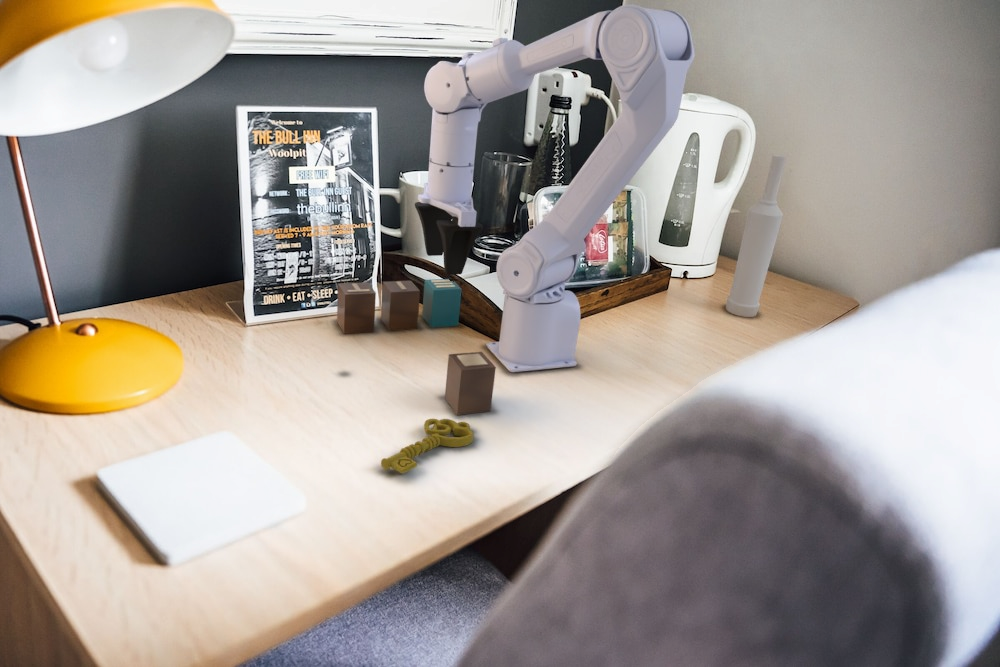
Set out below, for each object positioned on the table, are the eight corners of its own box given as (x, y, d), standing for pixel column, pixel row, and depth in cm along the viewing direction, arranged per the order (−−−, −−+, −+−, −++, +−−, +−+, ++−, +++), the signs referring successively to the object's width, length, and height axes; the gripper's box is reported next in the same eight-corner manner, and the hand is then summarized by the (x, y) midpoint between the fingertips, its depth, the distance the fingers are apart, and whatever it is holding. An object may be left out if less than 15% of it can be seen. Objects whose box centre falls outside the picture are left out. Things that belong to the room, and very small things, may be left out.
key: (400, 469, 71) (364, 446, 73) (399, 481, 71) (363, 458, 74) (484, 428, 79) (448, 409, 82) (482, 438, 80) (447, 419, 83)
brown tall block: (477, 394, 88) (481, 350, 86) (490, 411, 85) (496, 366, 83) (444, 398, 87) (448, 353, 85) (457, 415, 84) (461, 369, 81)
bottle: (722, 303, 127) (759, 150, 117) (754, 308, 126) (793, 155, 116) (726, 314, 122) (765, 156, 112) (759, 319, 121) (801, 161, 112)
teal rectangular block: (448, 315, 109) (452, 277, 107) (458, 326, 106) (461, 288, 104) (421, 316, 108) (424, 278, 106) (430, 327, 104) (433, 289, 102)
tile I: (408, 317, 107) (411, 279, 105) (417, 328, 104) (420, 289, 101) (380, 319, 105) (382, 280, 103) (388, 330, 102) (390, 291, 100)
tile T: (366, 320, 105) (367, 281, 102) (374, 331, 101) (375, 292, 99) (336, 321, 103) (337, 282, 101) (343, 334, 100) (345, 293, 97)
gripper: (404, 149, 102) (399, 247, 107) (440, 175, 90) (432, 284, 95) (454, 151, 105) (447, 246, 110) (496, 175, 93) (485, 281, 98)
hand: (443, 264), depth 103 cm, fingers open, 7 cm apart
